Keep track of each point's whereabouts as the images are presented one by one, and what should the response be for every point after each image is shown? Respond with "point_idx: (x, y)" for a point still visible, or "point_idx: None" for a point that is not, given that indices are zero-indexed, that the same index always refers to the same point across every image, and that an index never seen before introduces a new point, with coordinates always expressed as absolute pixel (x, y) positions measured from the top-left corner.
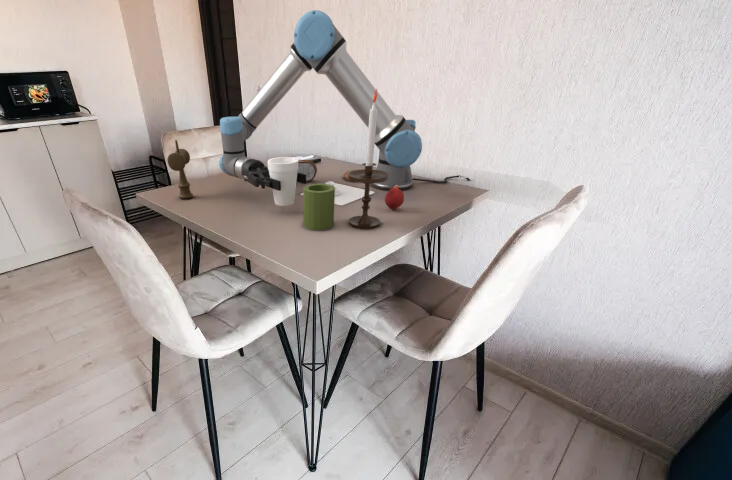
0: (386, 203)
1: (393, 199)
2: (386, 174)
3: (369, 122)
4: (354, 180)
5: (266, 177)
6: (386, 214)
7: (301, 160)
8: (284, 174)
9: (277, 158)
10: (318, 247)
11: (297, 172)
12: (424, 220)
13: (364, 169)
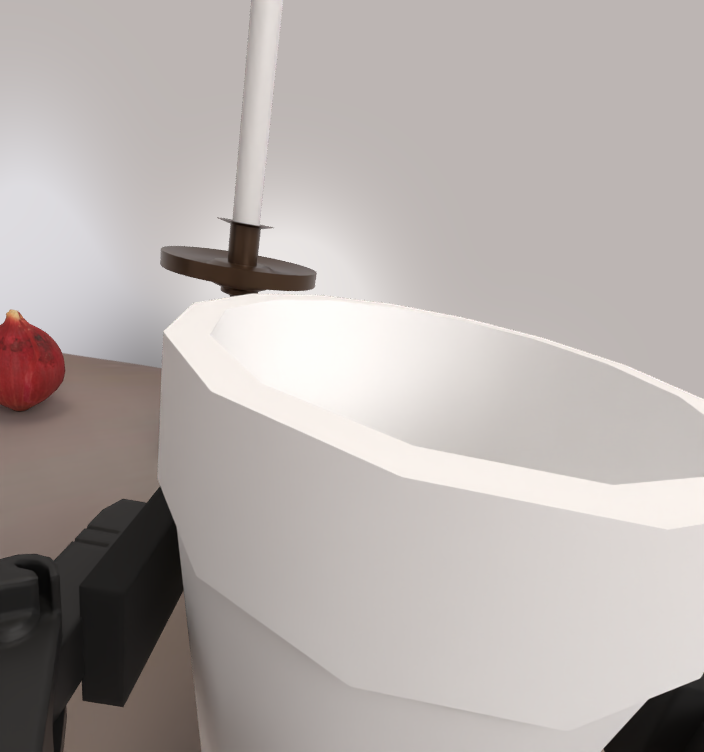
0: (45, 390)
1: (63, 359)
2: (207, 251)
3: (275, 49)
4: (313, 284)
5: (698, 681)
6: (87, 416)
7: None
8: (486, 439)
9: (419, 464)
10: None
11: (154, 499)
12: (116, 367)
13: (171, 254)
